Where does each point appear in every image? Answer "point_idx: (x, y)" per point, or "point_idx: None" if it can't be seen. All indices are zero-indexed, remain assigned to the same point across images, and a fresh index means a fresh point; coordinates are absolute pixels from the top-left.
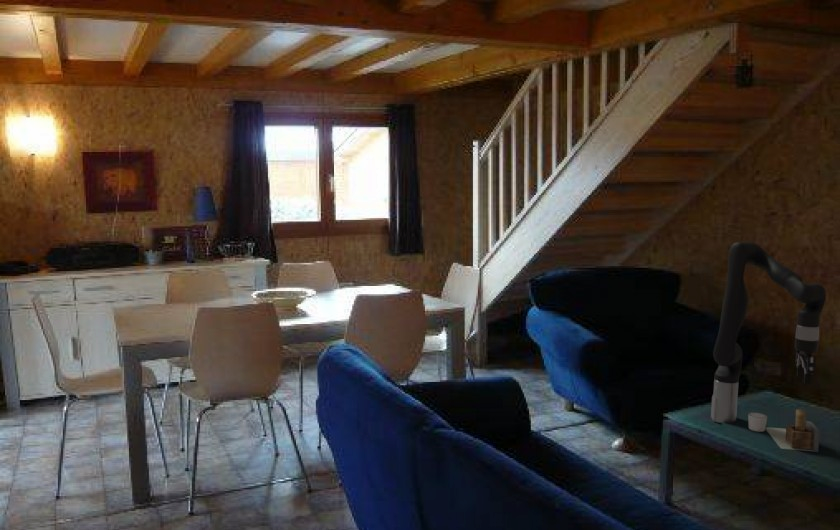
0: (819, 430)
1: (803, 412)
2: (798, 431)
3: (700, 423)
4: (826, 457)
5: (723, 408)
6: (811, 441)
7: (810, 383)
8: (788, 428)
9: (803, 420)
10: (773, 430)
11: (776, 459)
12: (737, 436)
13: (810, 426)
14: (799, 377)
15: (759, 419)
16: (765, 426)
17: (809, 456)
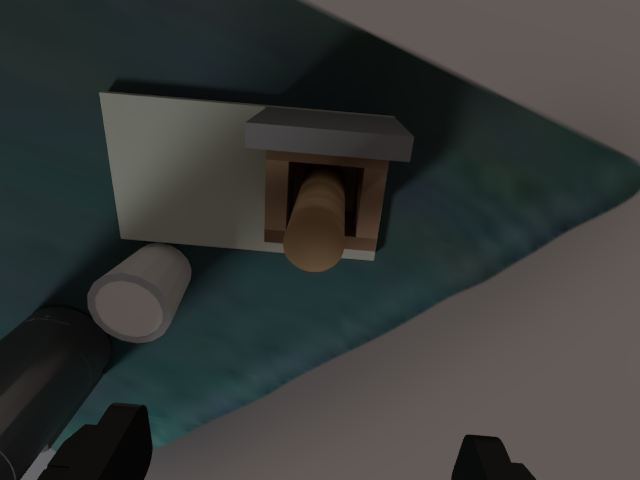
0: (413, 137)
1: (343, 238)
2: (364, 222)
3: None
4: (422, 87)
5: (75, 401)
6: None
7: (498, 445)
8: None
9: (343, 214)
10: (154, 215)
11: (452, 294)
12: (237, 344)
13: (326, 153)
14: (148, 438)
15: (172, 309)
16: (158, 256)
17: (415, 161)
